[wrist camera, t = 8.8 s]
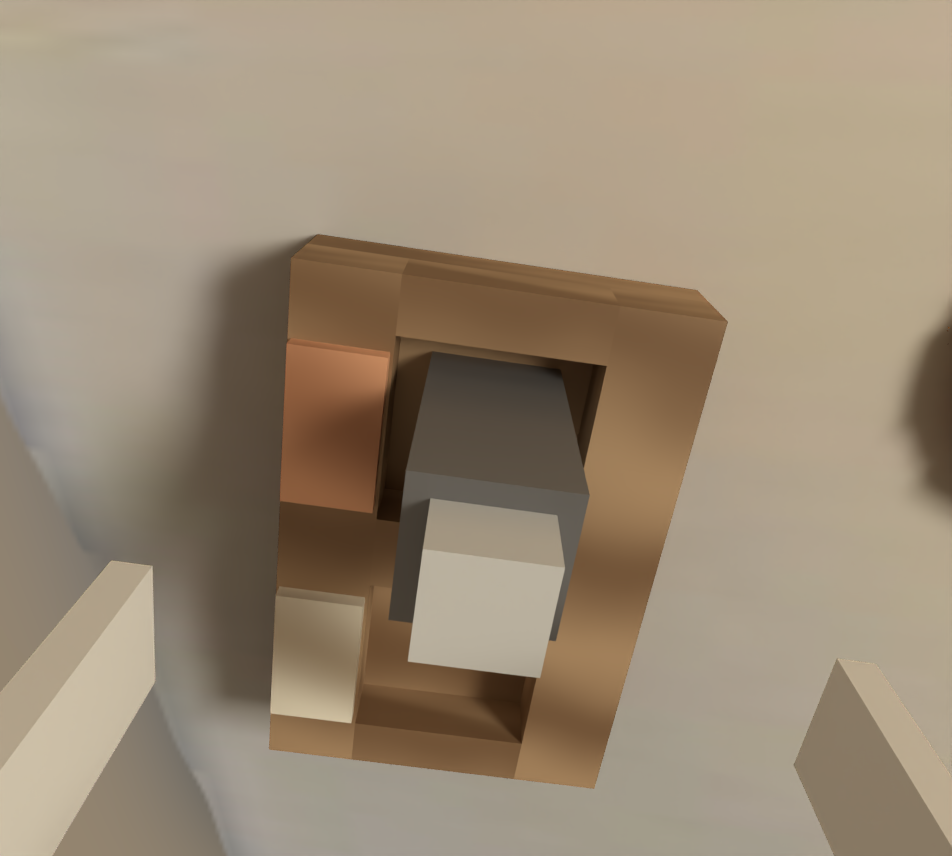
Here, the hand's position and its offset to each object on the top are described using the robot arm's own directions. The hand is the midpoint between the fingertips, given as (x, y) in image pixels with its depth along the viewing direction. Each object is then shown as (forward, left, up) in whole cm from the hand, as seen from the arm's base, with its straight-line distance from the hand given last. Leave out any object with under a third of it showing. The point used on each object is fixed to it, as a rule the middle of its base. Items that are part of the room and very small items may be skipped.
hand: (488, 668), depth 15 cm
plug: (0, 0, -11) cm, 11 cm away
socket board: (-4, 0, -13) cm, 13 cm away
